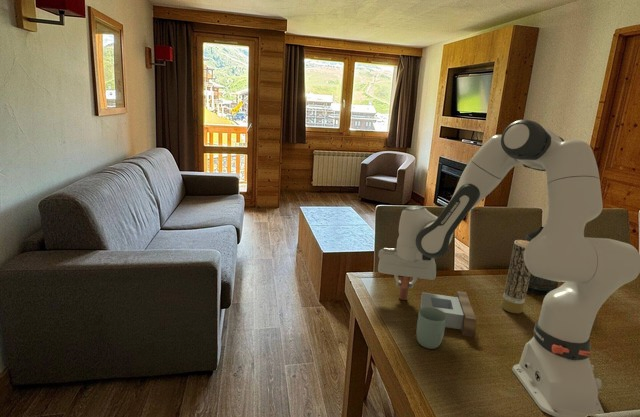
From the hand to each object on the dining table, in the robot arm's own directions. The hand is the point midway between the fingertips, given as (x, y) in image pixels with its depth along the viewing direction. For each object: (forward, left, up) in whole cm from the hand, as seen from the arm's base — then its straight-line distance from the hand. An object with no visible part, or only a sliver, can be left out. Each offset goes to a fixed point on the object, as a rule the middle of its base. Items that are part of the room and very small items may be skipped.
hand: (404, 286), depth 136 cm
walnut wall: (-9, -19, -5) cm, 22 cm away
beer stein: (+26, -53, -5) cm, 59 cm away
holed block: (-9, -12, -5) cm, 16 cm away
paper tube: (+4, -38, -5) cm, 38 cm away
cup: (-26, -7, -5) cm, 28 cm away
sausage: (0, 0, -4) cm, 4 cm away
